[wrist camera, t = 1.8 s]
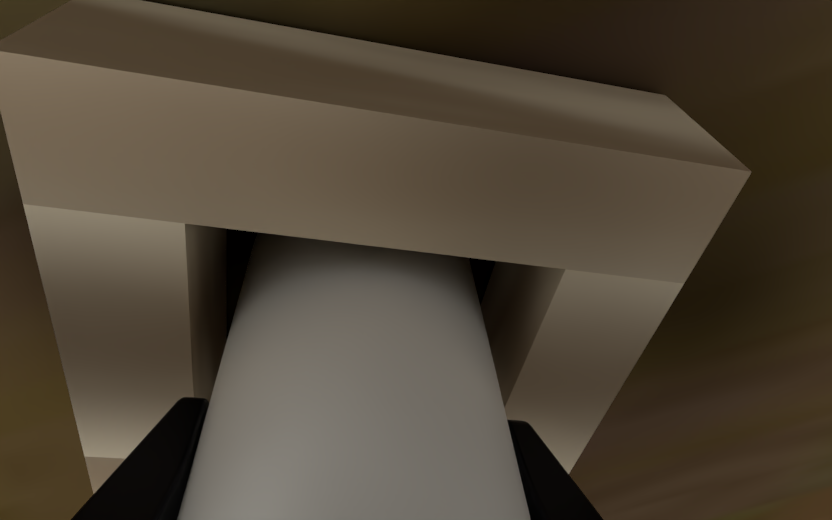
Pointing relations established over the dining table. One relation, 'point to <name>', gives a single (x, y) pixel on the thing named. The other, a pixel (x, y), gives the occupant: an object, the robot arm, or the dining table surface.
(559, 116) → the beige square frame
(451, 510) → the plug
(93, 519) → the robot arm
